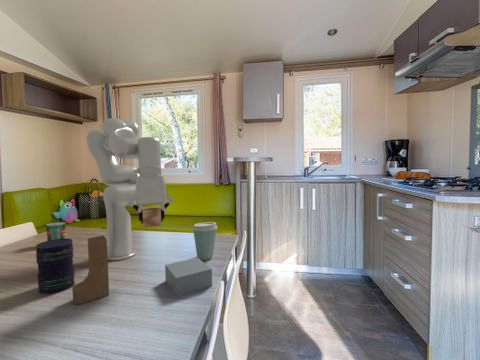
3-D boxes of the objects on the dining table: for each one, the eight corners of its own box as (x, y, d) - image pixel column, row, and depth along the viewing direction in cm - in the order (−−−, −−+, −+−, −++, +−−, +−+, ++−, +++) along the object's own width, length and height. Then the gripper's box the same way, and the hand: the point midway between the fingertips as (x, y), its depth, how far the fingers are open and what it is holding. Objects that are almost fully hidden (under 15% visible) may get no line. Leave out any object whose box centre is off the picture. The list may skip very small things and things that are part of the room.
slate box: (176, 297, 76) (176, 278, 75) (165, 281, 86) (165, 264, 86) (212, 286, 82) (211, 268, 82) (198, 273, 92) (197, 257, 92)
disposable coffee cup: (187, 259, 105) (187, 224, 105) (202, 251, 115) (202, 219, 114) (208, 263, 101) (207, 227, 100) (222, 255, 110) (221, 221, 109)
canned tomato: (69, 243, 129) (68, 222, 128) (51, 248, 122) (50, 226, 121) (62, 241, 133) (61, 221, 132) (44, 245, 126) (43, 224, 126)
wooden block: (74, 306, 71) (71, 244, 70) (72, 299, 74) (69, 240, 73) (109, 295, 77) (106, 238, 76) (106, 289, 80) (103, 235, 79)
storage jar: (45, 297, 76) (43, 249, 75) (32, 289, 81) (30, 244, 80) (80, 284, 84) (78, 241, 83) (67, 277, 89) (64, 236, 88)
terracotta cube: (143, 227, 86) (142, 210, 86) (143, 223, 92) (142, 207, 91) (161, 225, 88) (160, 208, 88) (160, 222, 94) (159, 206, 93)
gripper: (122, 173, 82) (125, 226, 83) (176, 171, 88) (177, 221, 89) (124, 172, 89) (126, 222, 90) (173, 171, 95) (175, 217, 96)
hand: (152, 221), depth 90 cm, fingers closed on terracotta cube, 6 cm apart
